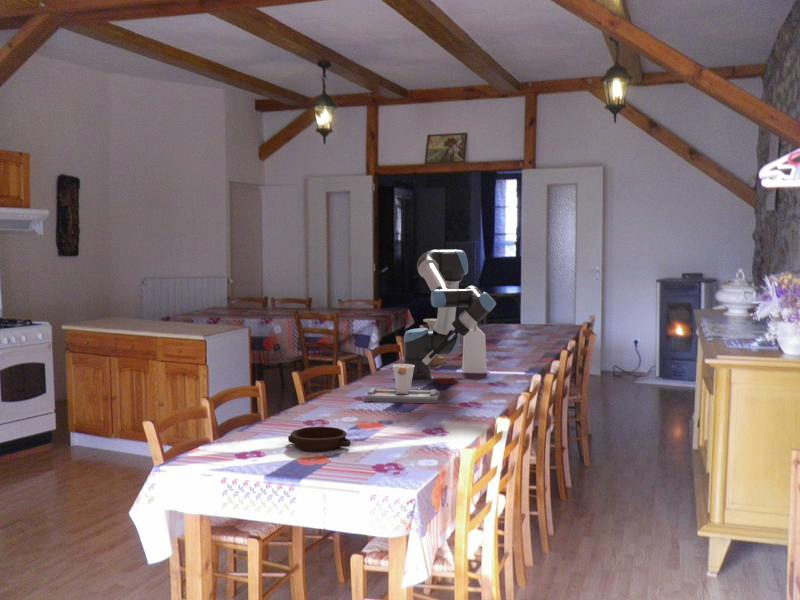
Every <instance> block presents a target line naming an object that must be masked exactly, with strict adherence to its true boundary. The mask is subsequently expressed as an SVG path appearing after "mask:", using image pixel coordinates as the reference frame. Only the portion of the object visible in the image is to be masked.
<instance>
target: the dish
mask: <svg viewBox="0 0 800 600" xmlns="http://www.w3.org/2000/svg"><path fill="white" fill-rule="evenodd" d="M347 435H348V434H347V432H346V430H344V429H342V428H339V427H332V426H331V427H330V426H307V427H302V428H299V429H295V430H293V431H291V432H290V435H288V436H287V440H288V443H290V444H294V445H295V446H296V448H297V449H299V450H301V451H305V452H314V453H315V452H326V451H331V450H335V449H339V448H340V447H343V448H346V447H350V446H351V443H352V441H351V440H350V439H348V438H346V437H347Z"/></svg>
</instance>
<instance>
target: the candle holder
mask: <svg viewBox="0 0 800 600" xmlns="http://www.w3.org/2000/svg"><path fill="white" fill-rule="evenodd" d="M422 320H423V322H424V323H427V325H428V326H429V328H428V331H433V326H434V325H436V324H437V318H424V319H422ZM445 364H447V360H446V359H445V357H444V356H441V355H436V356H435V357H434V358H433V359H432V360H431V361H430V362H429V366H431V367H433V366H435V367H436V366H440V365H441V366H442V365H445Z"/></svg>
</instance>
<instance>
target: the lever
mask: <svg viewBox="0 0 800 600" xmlns="http://www.w3.org/2000/svg"><path fill="white" fill-rule="evenodd" d="M410 390H411V389H410ZM410 390H407V368H406V367H405V366H401V367H400V368H399V370H398V391H397V392H396V393H395V395H409V393H410Z"/></svg>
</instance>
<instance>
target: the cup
mask: <svg viewBox="0 0 800 600" xmlns="http://www.w3.org/2000/svg"><path fill="white" fill-rule="evenodd" d="M401 366H405V367H406V368H407V390H411V389H412V381H413V379H412V377H413V371H414V367H415V366H414V365H412V364H403V363H396V364H393V365H392V368H393V375H394V380H395V386H396V390H398V370H399V368H400V367H401Z"/></svg>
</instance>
